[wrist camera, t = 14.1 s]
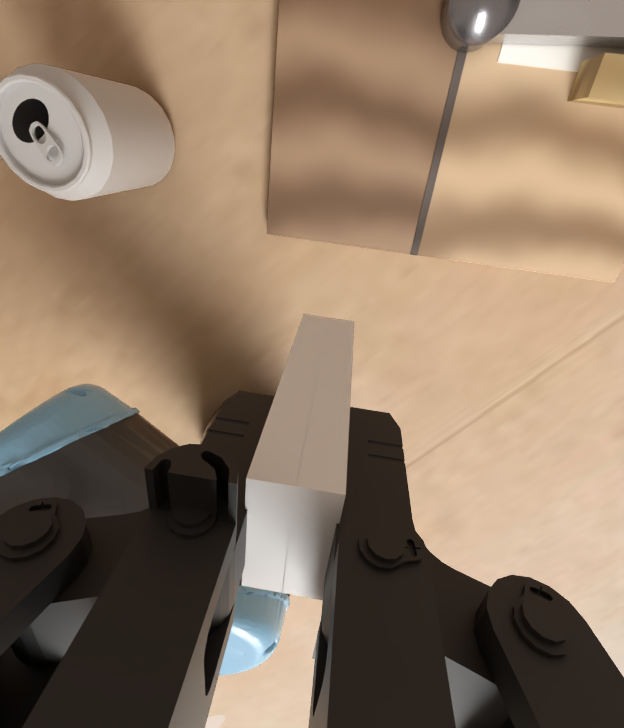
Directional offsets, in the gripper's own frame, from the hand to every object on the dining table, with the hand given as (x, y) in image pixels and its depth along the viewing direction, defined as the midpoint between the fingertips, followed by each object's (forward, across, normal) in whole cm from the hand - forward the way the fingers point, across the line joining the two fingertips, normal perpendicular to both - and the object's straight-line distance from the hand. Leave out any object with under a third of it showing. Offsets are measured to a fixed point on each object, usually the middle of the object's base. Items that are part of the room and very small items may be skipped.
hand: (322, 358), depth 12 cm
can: (+27, -19, +4) cm, 33 cm away
